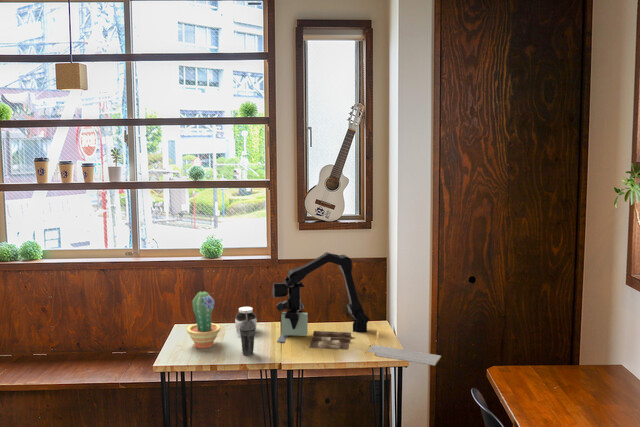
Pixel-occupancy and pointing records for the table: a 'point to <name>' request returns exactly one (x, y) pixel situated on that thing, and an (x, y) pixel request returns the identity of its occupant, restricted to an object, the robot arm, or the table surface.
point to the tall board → (300, 327)
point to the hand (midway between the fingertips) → (294, 327)
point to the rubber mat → (282, 338)
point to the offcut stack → (329, 343)
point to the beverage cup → (247, 336)
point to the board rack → (341, 336)
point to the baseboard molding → (405, 355)
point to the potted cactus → (203, 321)
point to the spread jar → (244, 317)
